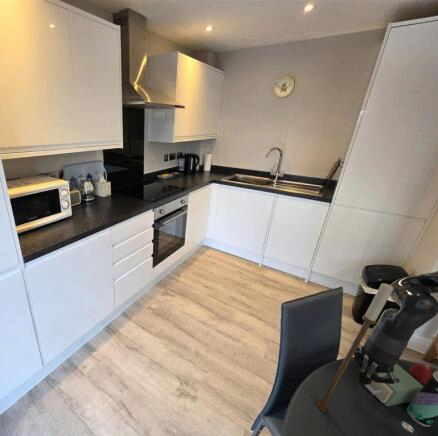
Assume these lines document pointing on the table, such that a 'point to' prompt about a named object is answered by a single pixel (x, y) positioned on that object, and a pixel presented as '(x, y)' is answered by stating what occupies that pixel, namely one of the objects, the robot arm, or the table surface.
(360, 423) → the table surface
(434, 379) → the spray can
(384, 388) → the fryer drawer
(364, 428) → the table surface
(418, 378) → the onion
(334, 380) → the candlestick
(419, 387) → the green drawer box
